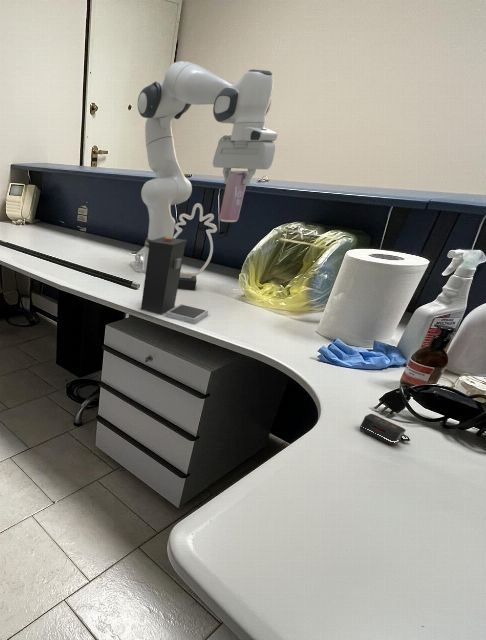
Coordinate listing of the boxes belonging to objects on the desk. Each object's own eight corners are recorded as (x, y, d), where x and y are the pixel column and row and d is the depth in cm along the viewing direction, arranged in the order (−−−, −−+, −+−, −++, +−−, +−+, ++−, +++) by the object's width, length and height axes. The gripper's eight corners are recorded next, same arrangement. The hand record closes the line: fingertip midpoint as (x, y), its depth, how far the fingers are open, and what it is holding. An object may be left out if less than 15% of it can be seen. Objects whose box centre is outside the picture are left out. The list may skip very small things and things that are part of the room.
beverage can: (231, 219, 141) (242, 170, 133) (241, 222, 136) (252, 171, 128) (215, 219, 140) (225, 170, 133) (224, 222, 135) (235, 171, 127)
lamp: (204, 285, 170) (221, 203, 154) (205, 291, 163) (223, 205, 147) (163, 281, 174) (176, 201, 158) (162, 287, 167) (175, 203, 151)
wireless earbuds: (396, 449, 77) (404, 436, 76) (357, 429, 83) (363, 416, 81) (409, 442, 79) (417, 429, 78) (370, 423, 85) (376, 410, 83)
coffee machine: (139, 309, 143) (148, 238, 131) (154, 301, 151) (164, 234, 139) (194, 323, 132) (209, 247, 120) (207, 314, 139) (223, 242, 127)
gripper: (213, 135, 132) (204, 182, 139) (268, 133, 116) (255, 186, 123) (226, 135, 134) (217, 182, 141) (282, 133, 119) (269, 186, 126)
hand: (236, 184), depth 132 cm, fingers closed on beverage can, 6 cm apart
